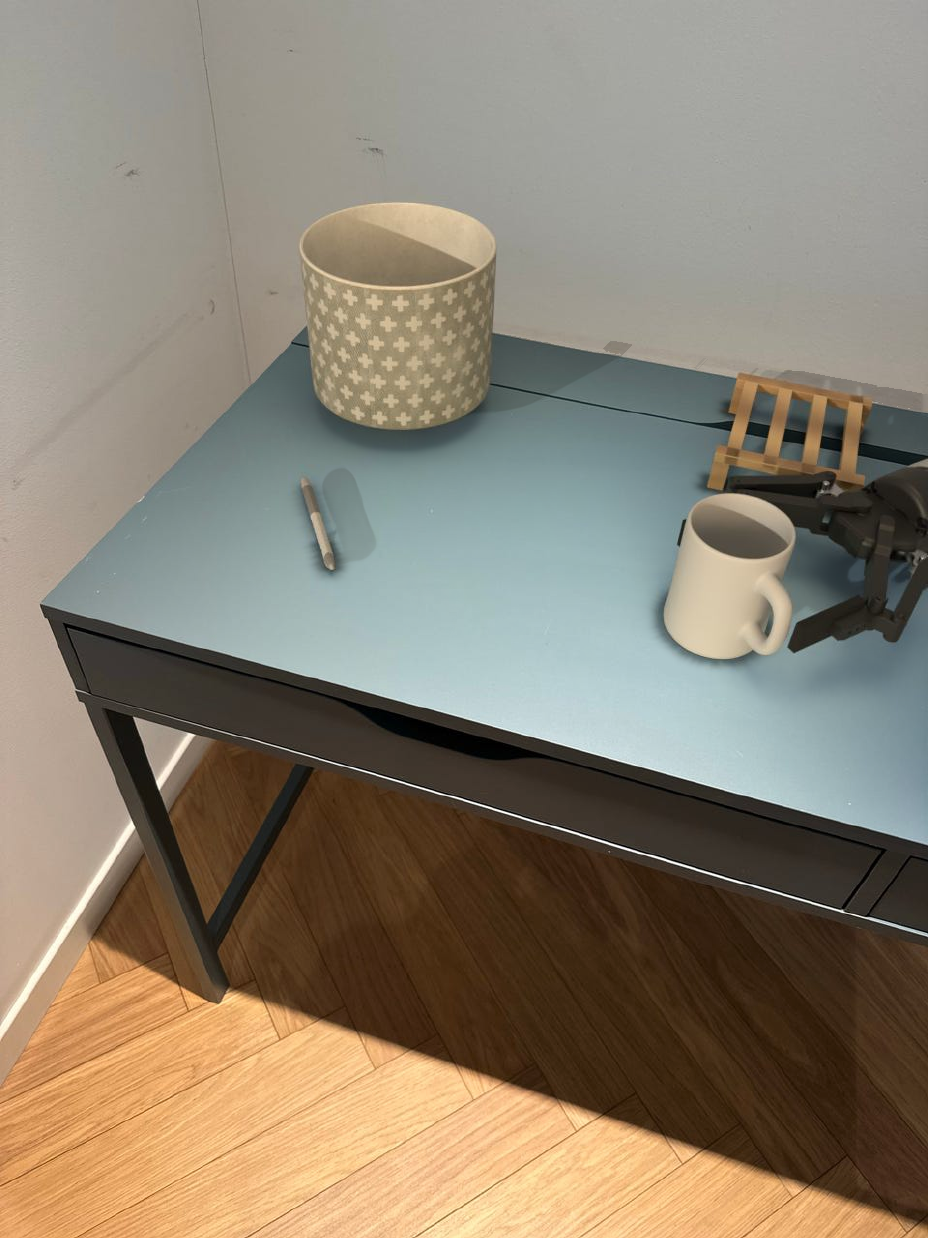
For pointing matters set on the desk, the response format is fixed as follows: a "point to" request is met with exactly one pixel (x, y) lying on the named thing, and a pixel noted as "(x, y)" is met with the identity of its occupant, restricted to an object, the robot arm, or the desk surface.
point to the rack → (770, 459)
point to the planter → (399, 313)
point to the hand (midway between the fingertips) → (735, 584)
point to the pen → (317, 523)
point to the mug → (731, 578)
